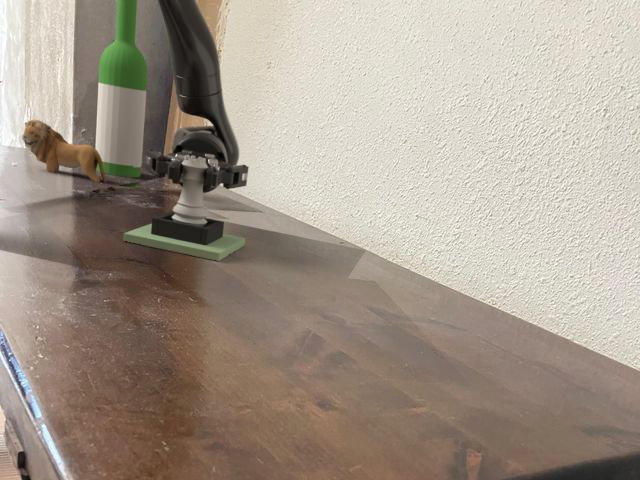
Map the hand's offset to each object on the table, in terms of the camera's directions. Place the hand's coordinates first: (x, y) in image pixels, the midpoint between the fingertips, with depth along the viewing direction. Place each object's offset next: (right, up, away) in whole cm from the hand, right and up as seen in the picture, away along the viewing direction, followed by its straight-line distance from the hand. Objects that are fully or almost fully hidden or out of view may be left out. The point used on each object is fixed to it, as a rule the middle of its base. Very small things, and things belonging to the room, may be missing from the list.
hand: (192, 177), depth 89 cm
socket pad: (-2, -6, +6) cm, 9 cm away
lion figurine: (-25, +8, +29) cm, 39 cm away
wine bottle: (-20, +13, +41) cm, 47 cm away
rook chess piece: (-1, -4, +5) cm, 7 cm away
